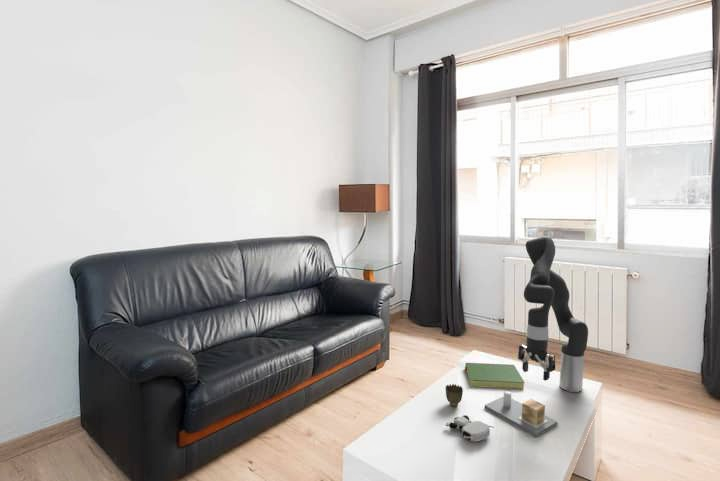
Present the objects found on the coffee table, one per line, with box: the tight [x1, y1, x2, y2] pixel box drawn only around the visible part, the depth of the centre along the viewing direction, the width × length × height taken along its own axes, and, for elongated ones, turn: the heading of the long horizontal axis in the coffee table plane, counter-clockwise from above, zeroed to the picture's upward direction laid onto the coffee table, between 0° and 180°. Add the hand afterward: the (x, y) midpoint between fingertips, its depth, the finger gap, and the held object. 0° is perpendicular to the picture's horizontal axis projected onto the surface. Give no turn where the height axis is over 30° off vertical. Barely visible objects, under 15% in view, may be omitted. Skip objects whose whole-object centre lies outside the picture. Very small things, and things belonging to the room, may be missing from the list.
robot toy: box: [445, 414, 495, 442], centre depth 150 cm, size 12×4×15 cm
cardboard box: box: [521, 398, 546, 426], centre depth 155 cm, size 6×6×6 cm
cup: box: [445, 383, 464, 408], centre depth 169 cm, size 8×7×8 cm
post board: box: [484, 391, 559, 438], centre depth 160 cm, size 14×24×8 cm, turn 33°
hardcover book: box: [464, 362, 525, 390], centre depth 194 cm, size 25×19×4 cm
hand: (535, 375), depth 153 cm, fingers open, 8 cm apart
